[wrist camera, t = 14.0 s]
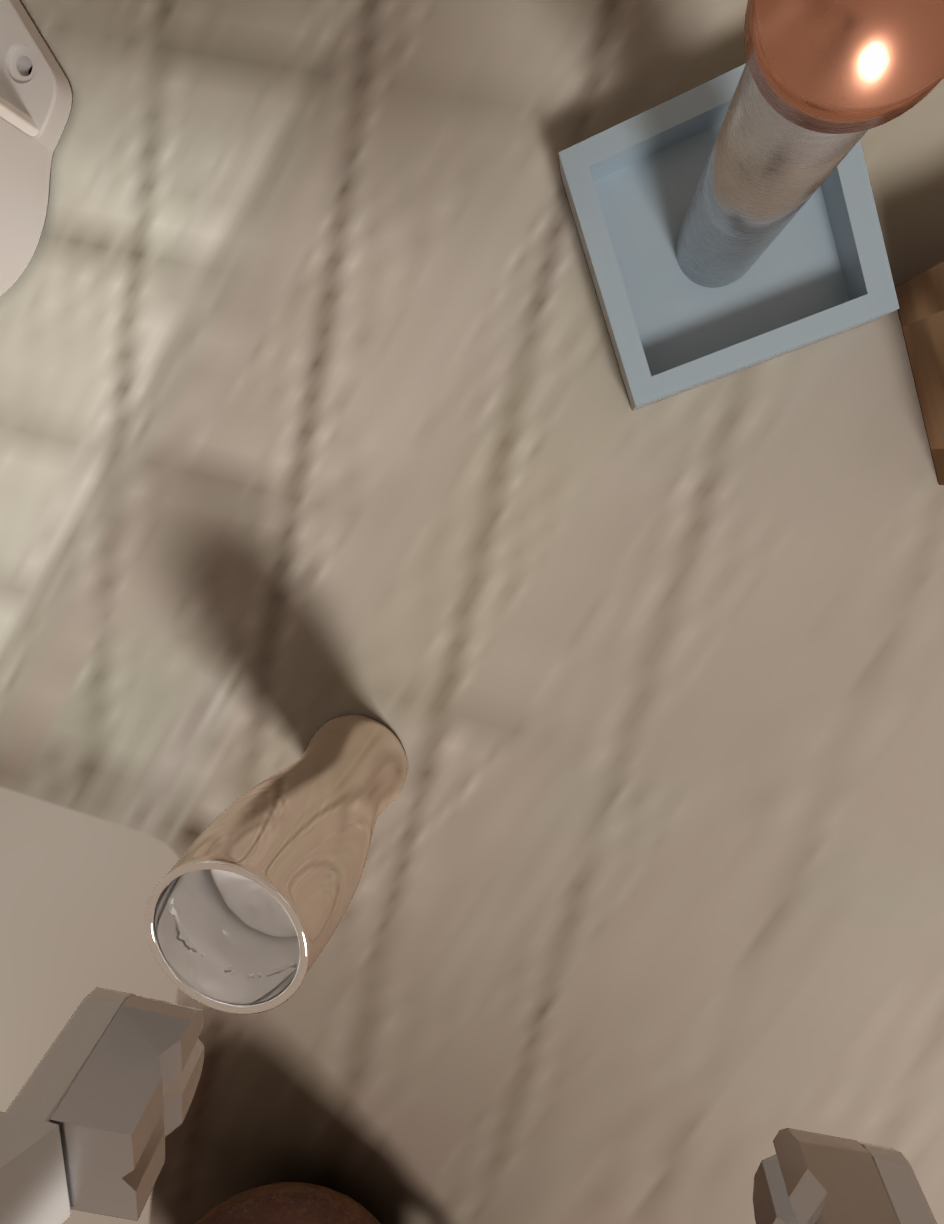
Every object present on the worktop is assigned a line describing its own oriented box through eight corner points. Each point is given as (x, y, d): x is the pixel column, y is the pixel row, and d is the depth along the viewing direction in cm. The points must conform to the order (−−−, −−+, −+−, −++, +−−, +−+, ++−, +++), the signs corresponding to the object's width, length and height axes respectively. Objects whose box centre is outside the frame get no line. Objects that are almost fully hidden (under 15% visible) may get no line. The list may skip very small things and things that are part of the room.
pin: (651, 213, 30) (730, -94, 13) (757, 166, 29) (987, -231, 12) (680, 316, 30) (790, 147, 14) (784, 274, 29) (1037, 38, 13)
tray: (560, 176, 30) (558, 152, 28) (811, 59, 28) (832, 22, 26) (632, 410, 32) (636, 406, 30) (874, 320, 30) (899, 308, 27)
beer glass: (410, 706, 38) (300, 860, 23) (420, 817, 39) (323, 1027, 25) (295, 706, 39) (123, 853, 25) (309, 814, 40) (155, 1012, 26)
